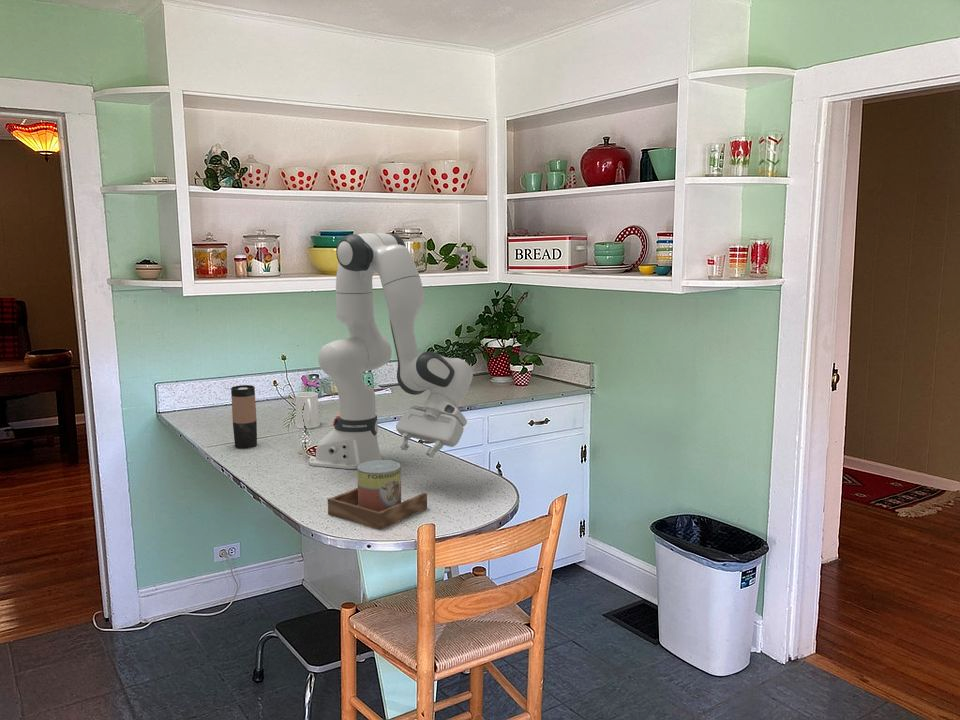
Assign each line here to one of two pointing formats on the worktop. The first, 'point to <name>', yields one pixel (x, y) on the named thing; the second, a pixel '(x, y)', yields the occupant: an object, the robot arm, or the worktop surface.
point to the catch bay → (349, 510)
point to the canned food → (379, 484)
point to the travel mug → (244, 416)
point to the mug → (307, 410)
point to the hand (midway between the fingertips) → (415, 452)
